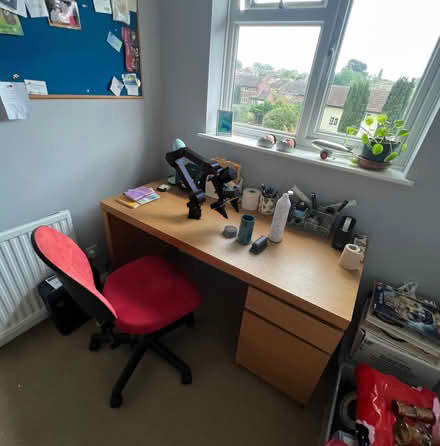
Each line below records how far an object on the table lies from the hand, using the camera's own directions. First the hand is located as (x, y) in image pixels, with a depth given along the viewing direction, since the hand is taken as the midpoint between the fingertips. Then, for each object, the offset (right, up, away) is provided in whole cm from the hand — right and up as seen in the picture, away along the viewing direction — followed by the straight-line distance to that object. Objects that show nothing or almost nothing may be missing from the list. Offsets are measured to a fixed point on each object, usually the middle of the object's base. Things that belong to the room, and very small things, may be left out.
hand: (232, 215), depth 122 cm
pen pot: (+5, -13, 0) cm, 14 cm away
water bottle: (+22, -12, +5) cm, 26 cm away
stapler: (+12, -16, -4) cm, 20 cm away
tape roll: (-1, -9, +4) cm, 10 cm away
